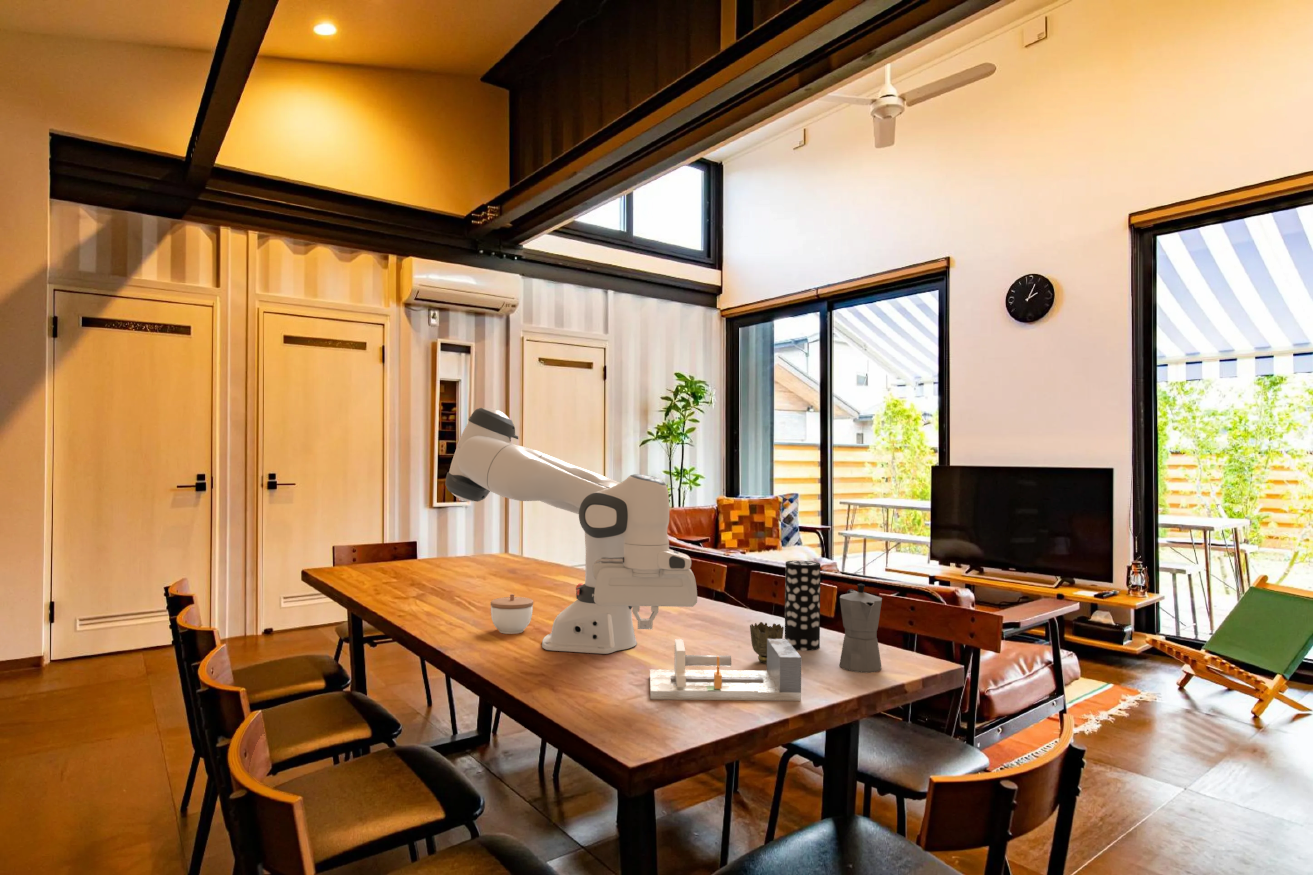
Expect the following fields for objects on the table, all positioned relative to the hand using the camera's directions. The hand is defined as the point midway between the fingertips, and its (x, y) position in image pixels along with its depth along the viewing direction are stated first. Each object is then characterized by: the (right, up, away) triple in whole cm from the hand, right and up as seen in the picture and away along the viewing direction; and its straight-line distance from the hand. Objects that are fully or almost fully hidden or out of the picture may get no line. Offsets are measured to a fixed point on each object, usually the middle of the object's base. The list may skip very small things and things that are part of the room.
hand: (645, 628), depth 143 cm
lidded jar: (-35, -12, +44) cm, 57 cm away
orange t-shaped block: (+14, -9, -6) cm, 18 cm away
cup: (+27, -13, +19) cm, 35 cm away
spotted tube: (+37, -13, +33) cm, 52 cm away
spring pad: (+11, -9, -1) cm, 15 cm away
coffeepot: (+47, -13, +17) cm, 51 cm away
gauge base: (+15, -12, 0) cm, 19 cm away
